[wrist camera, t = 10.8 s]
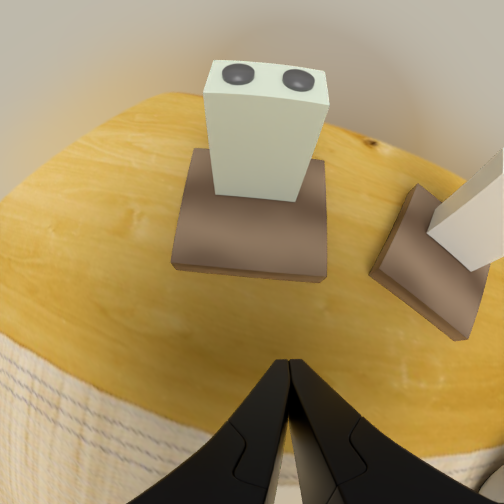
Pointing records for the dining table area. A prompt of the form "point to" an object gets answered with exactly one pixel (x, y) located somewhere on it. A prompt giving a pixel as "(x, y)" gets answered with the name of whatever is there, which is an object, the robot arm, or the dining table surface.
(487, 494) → the teacup
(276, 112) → the tile two
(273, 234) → the plinth
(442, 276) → the plinth
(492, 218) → the tile one
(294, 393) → the robot arm
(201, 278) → the dining table surface
